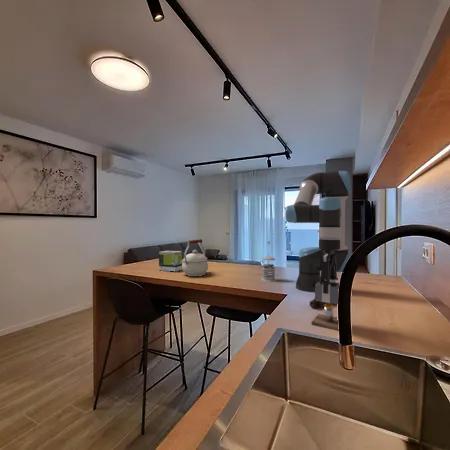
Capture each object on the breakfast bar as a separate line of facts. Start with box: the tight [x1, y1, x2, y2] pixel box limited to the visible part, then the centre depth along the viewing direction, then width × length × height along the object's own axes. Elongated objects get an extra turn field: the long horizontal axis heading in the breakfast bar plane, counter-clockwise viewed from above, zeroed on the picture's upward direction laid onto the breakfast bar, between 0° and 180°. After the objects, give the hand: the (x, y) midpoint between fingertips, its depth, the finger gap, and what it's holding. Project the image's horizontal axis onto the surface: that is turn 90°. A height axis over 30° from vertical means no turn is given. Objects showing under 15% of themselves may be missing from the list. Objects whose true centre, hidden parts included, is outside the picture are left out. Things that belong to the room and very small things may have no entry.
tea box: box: [158, 250, 183, 273], centre depth 203 cm, size 15×10×15 cm
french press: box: [258, 241, 277, 283], centre depth 171 cm, size 10×12×25 cm
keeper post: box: [323, 303, 334, 322], centre depth 100 cm, size 3×3×7 cm
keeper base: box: [311, 313, 339, 331], centre depth 100 cm, size 10×10×1 cm
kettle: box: [181, 238, 209, 277], centre depth 188 cm, size 25×18×25 cm
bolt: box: [309, 297, 333, 309], centre depth 120 cm, size 6×5×15 cm
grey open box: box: [314, 281, 340, 305], centre depth 99 cm, size 8×8×6 cm
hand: (328, 299), depth 99 cm, fingers closed on grey open box, 8 cm apart
